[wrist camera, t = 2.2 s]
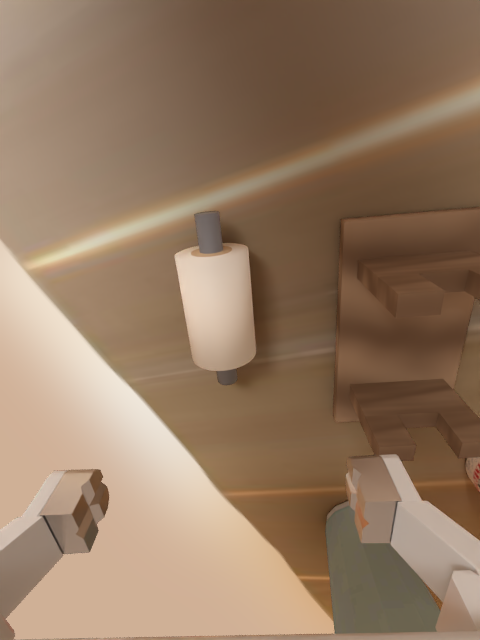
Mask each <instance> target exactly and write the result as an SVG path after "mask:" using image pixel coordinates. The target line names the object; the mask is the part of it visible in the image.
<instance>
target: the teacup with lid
mask: <svg viewBox="0 0 480 640" xmlns="http://www.w3.org/2000/svg"><path fill="white" fill-rule="evenodd" d="M466 472H467V475H468V477H469V478H470V480H471V481H472V483H473V484H474V485H475V487H476V488H477V490H478V491H479V492H480V457H475V458H467V460H466Z"/></svg>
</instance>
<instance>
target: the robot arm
mask: <svg viewBox="0 0 480 640" xmlns="http://www.w3.org/2000/svg"><path fill="white" fill-rule="evenodd" d="M346 466H347V469H348V473H347V474H346V478H345V484H346V493H347V497H348V501H349V505H350V507H351V508H352V509H353V510H354V511H355V520H354V521H355V525H356V528H357V531H358V534H359V538H360V541H361V543H391V546H392V547H393V548H394V549H395V550H396V551H397V552H398V554H399V555H400V556H401V557H402V558H403V559H404V560H405V561H406V562H407V563H408V565H409V566H410V567H411V568H412V569H413V570H414V571H415V572H416V573H417V574H418V576H419V577H420V578H421V579H422V580H423V581H424V582H425V583H426V584H427V586H428V587H429V588H430V589H431V590H432V591H433V592H434V593H435V594H436V595H437V597H438V598H439V599H440V600H441V601H442V602H443V605H442V608H441V611H440V614H439V617H438V621H437V624H436V627H435V628H436V630H437V632H401V633H346V634H294V635H239V636H237V635H235V636H184V637H182V636H181V637H132V638H130V637H129V638H78V639H77V638H76V639H23V640H480V541H479V540H478V539H477V538H475V537H474V536H473V535H472V534H470V533H469V532H468V531H466V530H465V529H464V528H462V527H461V526H460V525H458V524H457V523H456V522H454V521H453V520H452V519H451V518H449V517H448V516H447V515H445V514H444V513H443V512H441V511H440V510H439V509H437V508H436V507H435V506H433V505H432V504H431V503H430V502H428V501H422V500H421V498H420V496H419V494H418V492H417V490H416V488H415V486H414V485H413V483H412V481H411V479H410V477H409V475H408V473H407V471H406V469H405V467H404V466H403V464H402V462H401V460H400V458H399V456H397V455H396V454H390V455H368V456H352V457H348V458H347V462H346ZM102 478H103V475H102V473H101V471H100V470H98V469H91V470H55V471H53V472H52V473H50V474H49V475H48V477H47V478H46V480H45V482H44V483H43V485H42V486H41V488H40V489H39V491H38V492H37V494H36V495H35V497H34V499H33V500H32V502H31V503H30V505H29V506H28V508H27V509H26V511H25V513H24V514H23V516H22V517H17V518H15V519H14V520H13V521H11V522H10V523H9V524H8V525H6V526H5V527H4V528H2V529H1V530H0V640H13V639H14V637H15V633H14V630H13V629H12V627H11V626H10V624H9V623H8V622H7V620H6V618H7V617H8V616H9V615H10V613H11V612H12V611H13V610H14V609H15V608H16V607H17V606H18V605H19V604H20V602H21V601H22V600H23V599H24V598H25V597H26V596H27V595H28V593H29V592H30V591H31V590H32V589H33V588H34V587H35V586H36V585H37V584H38V583H39V582H40V581H41V579H42V578H43V577H44V576H45V575H46V574H47V573H48V572H49V571H50V570H51V568H52V567H53V566H54V565H55V564H56V563H57V562H58V561H59V560H60V559H61V558H62V556H63V554H73V553H88V552H90V550H91V548H92V545H93V543H94V540H95V538H96V536H97V533H98V527H97V523H98V522H99V521H100V520H101V519H103V518H104V516H105V514H106V511H107V508H108V501H109V492H108V488H107V486H106V485H104V484H103V483H102V482H101V480H102Z"/></svg>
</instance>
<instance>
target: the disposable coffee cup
mask: <svg viewBox="0 0 480 640" xmlns="http://www.w3.org/2000/svg"><path fill="white" fill-rule="evenodd" d="M354 520H355V511H354V510H353V509H352V508H351V507H350V505H349V501H347V502H344V503H342V504H339V505H337V506H335V507H334V508H333V509H332V510H331V511H330V512H329V514H328V515H327V521H326V530H325V533H326V544H327V555H328V565H329V576H330V587H331V598H332V608H333V619H334V629H335V634H346V633H401V632H437V630H436V628H435V627H436V624H437V621H438V617H439V614H440V609H439V607H438V606H437V604H436V602H435V601H434V599H433V597H432V595H431V594H430V592H429V590H428V589H427V587H426V585H425V584H424V582H423V580H422V579H421V578H420V577H419V576H418V574H417V573H416V572H415V571H414V570H413V569H412V568H411V567H410V566H409V565H408V563H407V562H406V561H405V560H404V559H403V558H402V557H401V556H400V555H399V554H398V552H397V551H396V550H395V549H394V548H393V547H392V546H391V543H361V541H360V538H359V534H358V531H357V528H356V525H355V521H354Z"/></svg>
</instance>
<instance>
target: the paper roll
mask: <svg viewBox="0 0 480 640" xmlns="http://www.w3.org/2000/svg"><path fill="white" fill-rule="evenodd" d="M194 215H195V222H196V229H197V236H198V244H199V246H195V247H191V248H187V249H184V250H182V251H180V252H178V253H176V254H175V262H176V267H177V273H178V279H179V284H180V290H181V296H182V302H183V307H184V313H185V319H186V324H187V330H188V336H189V341H190V347H191V353H192V359H193V362H194V363H195V364H196V365H197V366H199V367H201V368H203V369H206V370H211V371H217V378H218V382H219V383H220V384H222V385H231V384H233V383H235V382H236V381H237V370H236V368H239V367H241V366H243V365H245V364H247V363H249V362H250V361H251V360H252V359H253V358H254V357H255V355H256V341H255V328H254V315H253V302H252V289H251V277H250V264H249V251H248V247H247V246H246V245H243V244H237V243H222V234H221V225H220V216H219V212H218V211H210V212H201V213H196V214H194Z"/></svg>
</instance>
